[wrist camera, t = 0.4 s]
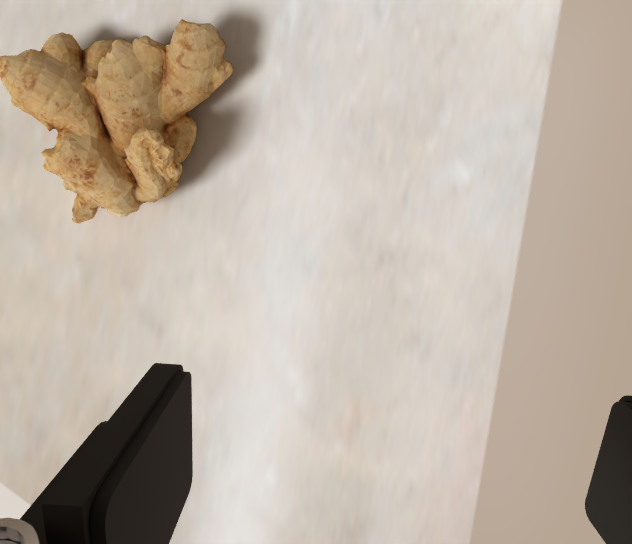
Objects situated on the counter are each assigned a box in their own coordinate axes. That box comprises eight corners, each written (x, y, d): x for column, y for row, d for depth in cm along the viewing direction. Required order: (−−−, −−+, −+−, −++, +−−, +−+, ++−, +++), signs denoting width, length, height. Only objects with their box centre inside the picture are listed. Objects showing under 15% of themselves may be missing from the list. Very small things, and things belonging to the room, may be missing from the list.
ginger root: (26, 213, 37) (-47, 201, 29) (59, 25, 36) (-6, -40, 28) (211, 248, 38) (191, 247, 30) (246, 66, 37) (234, 15, 29)
